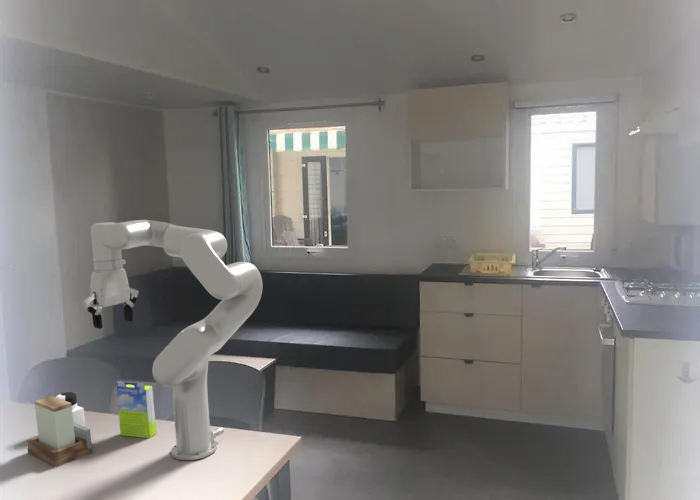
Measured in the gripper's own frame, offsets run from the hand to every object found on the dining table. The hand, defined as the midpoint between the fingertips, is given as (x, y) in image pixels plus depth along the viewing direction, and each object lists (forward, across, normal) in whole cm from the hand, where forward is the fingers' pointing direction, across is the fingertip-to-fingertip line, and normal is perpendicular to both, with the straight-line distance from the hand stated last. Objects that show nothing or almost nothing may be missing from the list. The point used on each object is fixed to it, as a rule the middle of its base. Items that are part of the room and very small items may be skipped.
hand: (113, 324), depth 177 cm
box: (+36, -6, -2) cm, 37 cm away
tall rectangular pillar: (+35, +14, -11) cm, 39 cm away
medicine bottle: (+36, +4, -24) cm, 44 cm away
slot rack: (+36, +14, -11) cm, 41 cm away
